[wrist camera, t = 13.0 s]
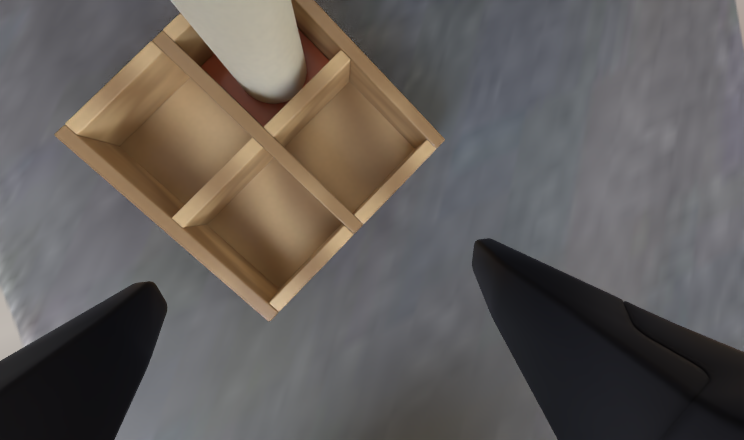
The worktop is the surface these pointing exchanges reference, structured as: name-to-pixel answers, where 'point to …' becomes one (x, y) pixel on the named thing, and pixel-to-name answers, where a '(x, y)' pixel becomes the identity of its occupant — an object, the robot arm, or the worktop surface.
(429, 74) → the worktop surface
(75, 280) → the worktop surface
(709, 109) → the worktop surface
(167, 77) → the grid
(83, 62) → the worktop surface
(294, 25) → the dome-topped white cylinder
